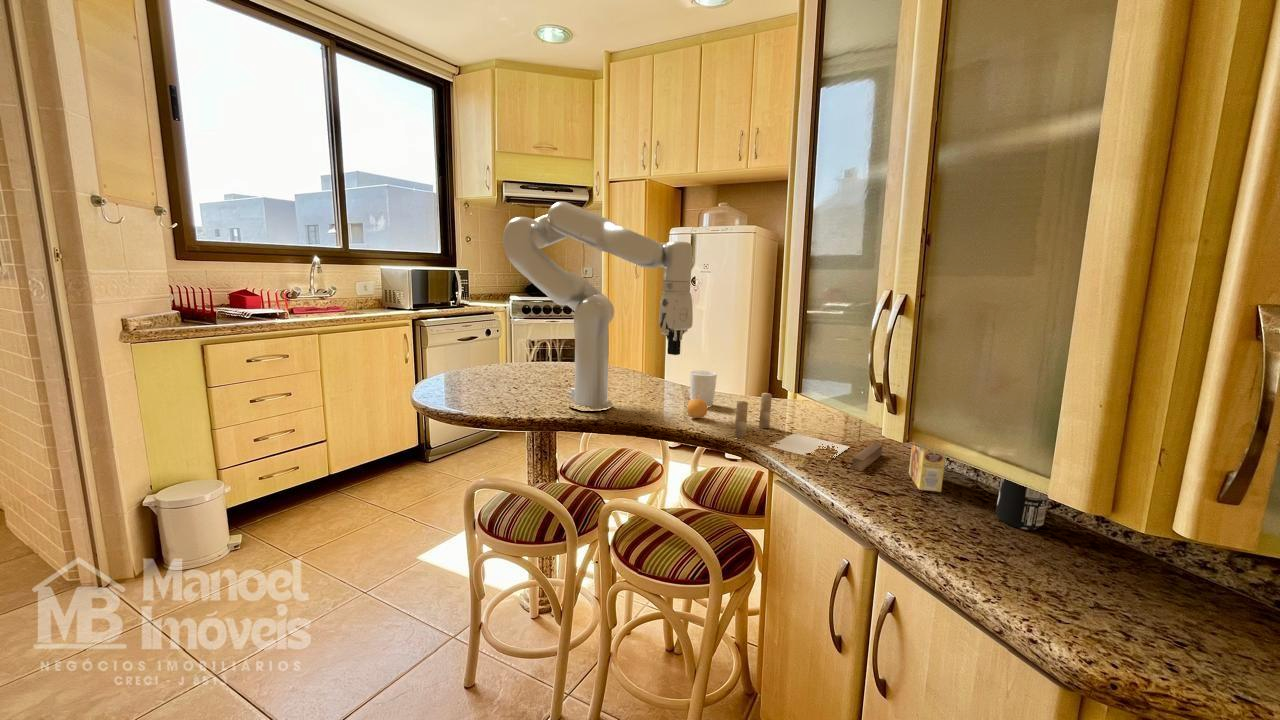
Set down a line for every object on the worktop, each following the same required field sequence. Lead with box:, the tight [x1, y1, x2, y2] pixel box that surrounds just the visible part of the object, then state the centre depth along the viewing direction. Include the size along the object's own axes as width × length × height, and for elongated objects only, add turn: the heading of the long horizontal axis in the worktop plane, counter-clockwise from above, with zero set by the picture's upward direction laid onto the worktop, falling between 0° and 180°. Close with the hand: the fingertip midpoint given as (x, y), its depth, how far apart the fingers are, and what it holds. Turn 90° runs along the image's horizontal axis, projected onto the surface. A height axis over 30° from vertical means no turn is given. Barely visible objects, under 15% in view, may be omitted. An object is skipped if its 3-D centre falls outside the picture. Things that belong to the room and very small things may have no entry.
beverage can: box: [995, 477, 1049, 531], centre depth 87 cm, size 7×7×12 cm
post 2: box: [758, 392, 773, 429], centre depth 136 cm, size 3×3×9 cm
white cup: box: [689, 370, 718, 406], centre depth 156 cm, size 8×8×10 cm
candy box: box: [908, 444, 947, 493], centre depth 102 cm, size 9×4×15 cm, turn 166°
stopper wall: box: [851, 442, 884, 472], centre depth 114 cm, size 2×14×2 cm, turn 140°
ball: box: [686, 398, 708, 419], centre depth 142 cm, size 6×6×6 cm
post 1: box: [734, 400, 749, 440], centre depth 126 cm, size 3×3×9 cm
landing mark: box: [769, 432, 851, 463], centre depth 122 cm, size 14×14×1 cm
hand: (673, 354), depth 145 cm, fingers closed
